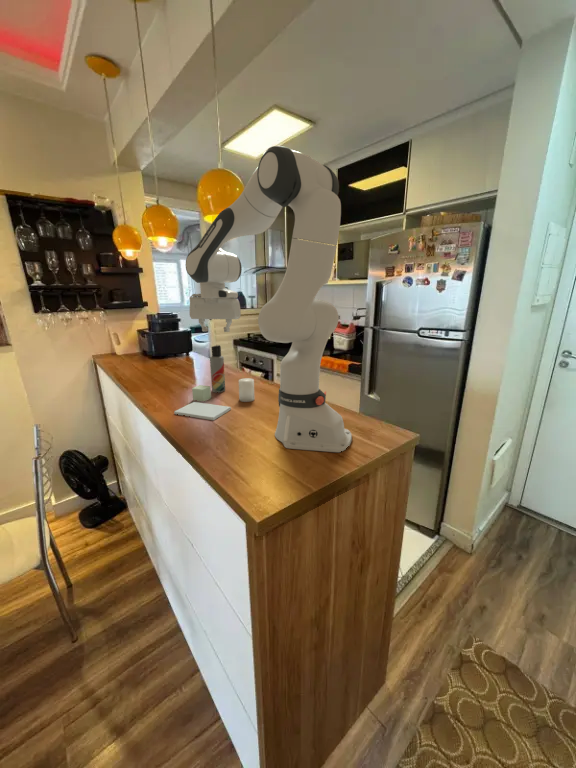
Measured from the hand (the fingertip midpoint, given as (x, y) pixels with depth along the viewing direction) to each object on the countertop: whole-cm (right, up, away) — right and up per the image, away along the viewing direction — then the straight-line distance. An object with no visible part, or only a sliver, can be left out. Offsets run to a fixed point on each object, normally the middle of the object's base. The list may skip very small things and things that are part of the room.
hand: (215, 331), depth 116 cm
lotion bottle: (-3, -23, +19) cm, 30 cm away
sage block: (-7, -26, +8) cm, 28 cm away
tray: (-3, -30, -6) cm, 30 cm away
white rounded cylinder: (+11, -26, +7) cm, 29 cm away
